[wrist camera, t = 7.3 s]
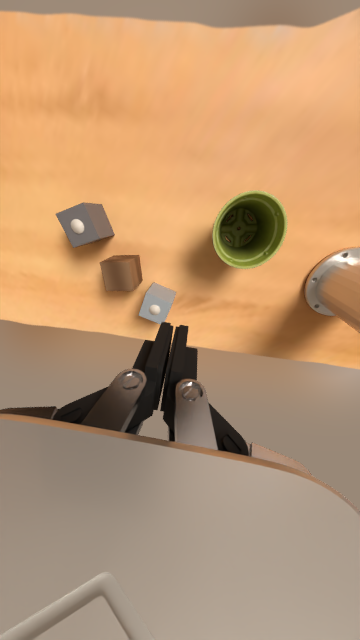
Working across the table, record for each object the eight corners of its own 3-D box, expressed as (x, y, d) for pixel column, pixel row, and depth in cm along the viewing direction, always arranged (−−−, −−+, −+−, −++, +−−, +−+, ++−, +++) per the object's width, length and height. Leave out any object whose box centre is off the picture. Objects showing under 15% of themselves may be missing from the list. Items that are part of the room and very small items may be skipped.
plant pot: (235, 267, 36) (244, 282, 28) (198, 231, 33) (198, 236, 26) (278, 226, 32) (302, 229, 24) (241, 181, 29) (254, 170, 22)
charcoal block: (102, 204, 33) (82, 202, 27) (114, 234, 35) (99, 238, 30) (77, 214, 34) (54, 214, 28) (91, 242, 36) (72, 247, 31)
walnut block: (139, 255, 36) (128, 262, 31) (142, 280, 39) (133, 290, 34) (114, 255, 37) (99, 262, 32) (119, 280, 39) (106, 290, 34)
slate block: (176, 291, 39) (172, 304, 34) (167, 311, 42) (162, 325, 36) (153, 282, 39) (146, 293, 33) (146, 302, 41) (138, 315, 36)
